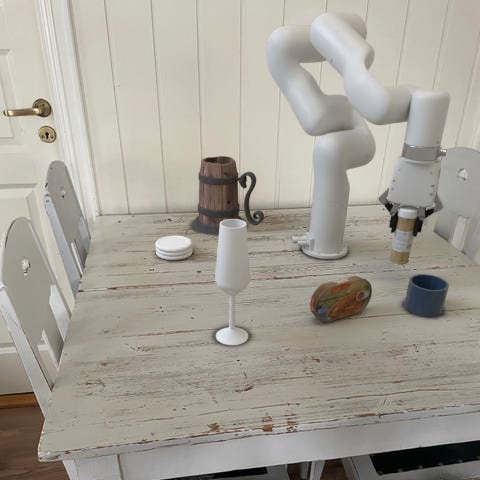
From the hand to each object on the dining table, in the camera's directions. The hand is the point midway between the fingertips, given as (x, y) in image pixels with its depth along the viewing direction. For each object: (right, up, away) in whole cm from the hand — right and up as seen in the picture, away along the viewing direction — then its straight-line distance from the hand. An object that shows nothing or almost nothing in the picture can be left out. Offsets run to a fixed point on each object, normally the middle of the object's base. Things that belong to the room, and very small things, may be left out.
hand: (404, 232), depth 115 cm
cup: (+3, -18, -4) cm, 19 cm away
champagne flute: (-40, -24, -15) cm, 49 cm away
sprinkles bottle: (0, -7, +4) cm, 8 cm away
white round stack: (-57, -3, +20) cm, 60 cm away
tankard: (-42, +8, +38) cm, 58 cm away
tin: (-17, -20, -7) cm, 27 cm away
